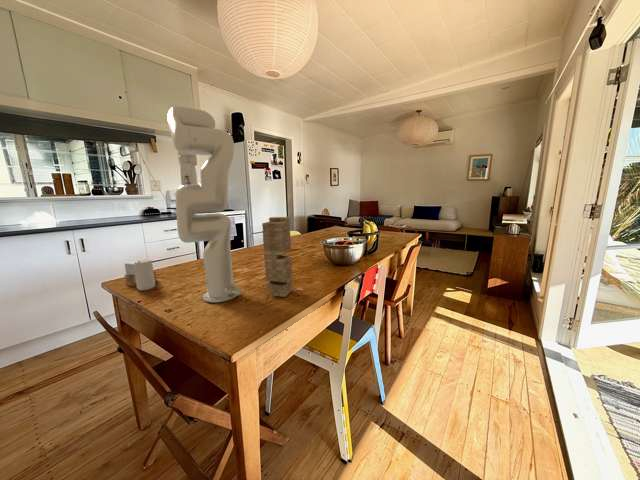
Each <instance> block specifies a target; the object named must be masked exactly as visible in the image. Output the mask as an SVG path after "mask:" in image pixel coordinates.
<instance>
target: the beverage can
mask: <svg viewBox="0 0 640 480" xmlns="http://www.w3.org/2000/svg"><path fill="white" fill-rule="evenodd" d="M137 260H138V261H135V260H134V261H135V262H134V263H135V264H134V272H135V278H136V285H137V286H136V288H137V290H139V291H141V292H145V291H149V290H152V289H154V287H155V286H156V281H155V279H154V272H153V270H154V266H153V261H152V262H151V259H149V258H145V259H143V260H139V259H137Z"/></svg>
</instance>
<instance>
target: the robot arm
mask: <svg viewBox="0 0 640 480" xmlns="http://www.w3.org/2000/svg"><path fill="white" fill-rule="evenodd" d="M166 116H167V120H166V121H167V126H168V130H169V133H170V136H171V139H172V143H173V145H174V149H176V151H177V156H178V157H177V158H178V165H179V166H180V171H179V172H180V182H181V183H180V184H181V185H180V186H179V187H177V189H176V191H175V209H176V211H175V212H176V225H177V226H176V227H177V234H178V238H179V240H180V241H181V242H183V243H186V244H188V243H189V244H190V243H191V244H192V243H199V242H207V244H206V245H205V248H204V250H203V264H204V265H203V266H204V273H205V274H204V275H205V282H206V283H205V284H206V292H205V293H204V294H203V296H202V298H203V300H204V301H205V302H207V303H223V302H226V301H231V300H232V299H235V298H236V297H237V296H240V295H241V294H242V291H243V289H242V287H237V284H236V283H235V282H234V275H233V264H232V251H231V233H232V232H231V231H232V221H231V219H230V217H229V216H227V215H226V214H224V213H220V212H223V211H224V210H226V208H227V205H228V199H229V198H228V196H229V195H228V192H229V172H230V168H231V165H232V162H233V159H234V154H235V143H234V139H233V136H232V135H231V134H230V133H229V132H228V131H225V130H222V129H219V128H218V129H217V128H216V120H215V119H214V117H213V116H212V115H211V113H209V112H208V111H206V110H203V109H197V108H191V107H185V106H179V105H177V106H176V105H175V106H172V107H170V109H169V110H168V113H167V115H166ZM197 156H210V157H209V158H208V159H207V160H206V161H205V162H204V164H203V165H202V166H201V168H200V172H199V173H200V175H199V176H200V182H199V183H198V175H197V168H196V166H198V160H197Z"/></svg>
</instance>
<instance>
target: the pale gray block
mask: <svg viewBox="0 0 640 480" xmlns="http://www.w3.org/2000/svg"><path fill="white" fill-rule="evenodd" d="M138 260H144V259H142V258H141V259H136V260H132V261H129V262H124V268H125V269H124V270H125V274H128V275H135V272H134V264H135V263H134V262H135V261H138ZM150 260H151V259H150ZM151 262H152V263H153V261H152V260H151Z"/></svg>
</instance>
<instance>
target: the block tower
mask: <svg viewBox="0 0 640 480" xmlns="http://www.w3.org/2000/svg"><path fill="white" fill-rule="evenodd" d="M261 225H262V226H261V227H262V239H263V240H262V241H263V242H262V243H263V254H264V255H263V258H264V259H263V260H264V265H265V266H264V269H265V270H264V271H265V281H267V283H266V292H272V296H274V297H283V298H284V297H285V298H286V297H287V295H289V294H290V293H291V292H292V291H293V290H294V286H293V285H294V283H293V266H292V265H293V264H292V263H293V262H292V257H290V256H288V255H286V254H287V253H289V252H291V251H292V247H291V244H292V243H291V242H292V240H291V218H290V216H272V217H269V218H268V221H266V222H263V223H261Z"/></svg>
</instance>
